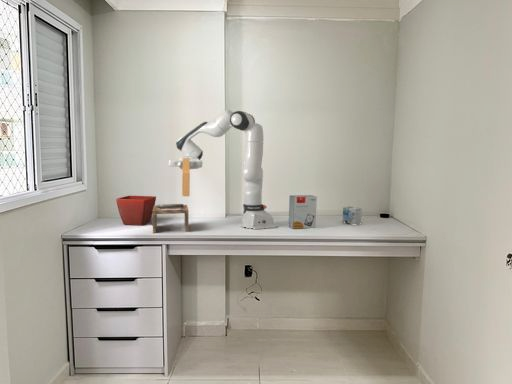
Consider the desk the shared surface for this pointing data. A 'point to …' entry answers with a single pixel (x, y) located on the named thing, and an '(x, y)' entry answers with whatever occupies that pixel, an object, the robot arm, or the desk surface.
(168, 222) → the desk surface
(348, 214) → the light bulb box
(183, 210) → the tan rectangular frame
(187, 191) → the tall tan upright block
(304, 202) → the hard drive box
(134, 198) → the plant pot
